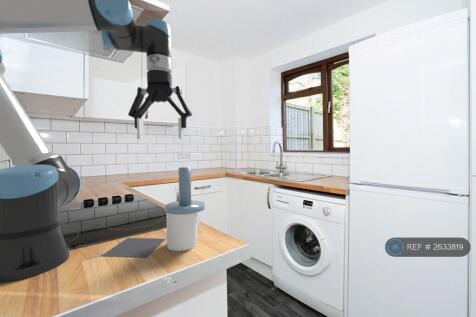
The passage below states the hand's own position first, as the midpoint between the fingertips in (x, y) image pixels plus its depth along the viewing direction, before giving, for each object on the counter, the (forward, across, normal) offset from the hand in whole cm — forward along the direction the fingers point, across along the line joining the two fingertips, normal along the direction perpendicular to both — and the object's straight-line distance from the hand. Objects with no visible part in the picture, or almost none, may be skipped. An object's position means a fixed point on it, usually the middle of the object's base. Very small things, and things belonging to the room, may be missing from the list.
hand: (160, 138), depth 74 cm
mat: (+31, -2, -13) cm, 33 cm away
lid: (+20, +11, -9) cm, 25 cm away
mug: (+31, +11, -9) cm, 34 cm away
